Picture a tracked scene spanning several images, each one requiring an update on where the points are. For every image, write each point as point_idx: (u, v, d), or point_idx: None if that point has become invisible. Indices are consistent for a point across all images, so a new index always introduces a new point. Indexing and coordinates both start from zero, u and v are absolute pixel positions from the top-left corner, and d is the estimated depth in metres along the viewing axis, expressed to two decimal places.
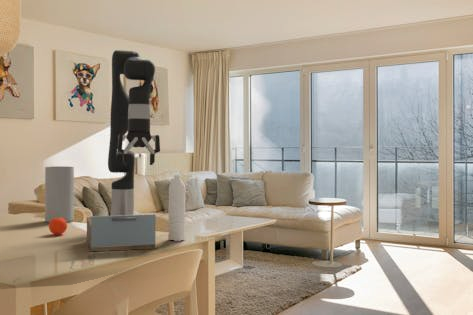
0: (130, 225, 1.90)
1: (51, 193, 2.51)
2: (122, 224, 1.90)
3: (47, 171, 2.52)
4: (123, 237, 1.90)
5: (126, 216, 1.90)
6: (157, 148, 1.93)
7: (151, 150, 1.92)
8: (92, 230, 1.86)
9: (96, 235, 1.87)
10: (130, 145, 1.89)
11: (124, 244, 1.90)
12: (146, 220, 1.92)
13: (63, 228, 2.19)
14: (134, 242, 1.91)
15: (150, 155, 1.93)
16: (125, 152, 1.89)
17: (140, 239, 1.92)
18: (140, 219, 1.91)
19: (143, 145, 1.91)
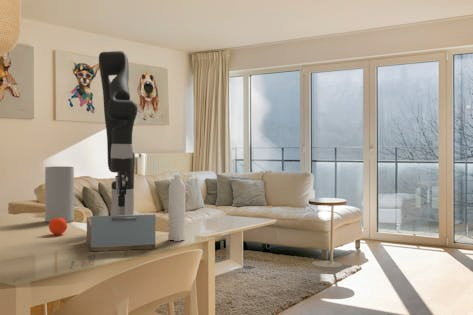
0: (130, 225, 1.90)
1: (51, 193, 2.51)
2: (122, 224, 1.90)
3: (47, 171, 2.52)
4: (123, 237, 1.90)
5: (126, 216, 1.90)
6: None
7: (124, 191, 1.96)
8: (92, 230, 1.86)
9: (96, 235, 1.87)
10: None
11: (124, 244, 1.90)
12: (146, 220, 1.92)
13: (63, 228, 2.19)
14: (134, 242, 1.91)
15: None
16: None
17: (140, 239, 1.92)
18: (140, 219, 1.91)
19: None
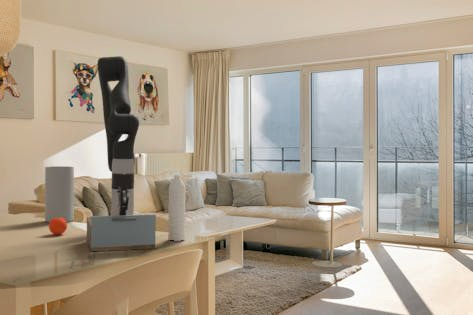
0: (130, 225, 1.90)
1: (51, 193, 2.51)
2: (122, 224, 1.89)
3: (47, 171, 2.52)
4: (123, 237, 1.90)
5: (126, 216, 1.90)
6: None
7: (125, 206, 1.93)
8: (92, 230, 1.86)
9: (96, 235, 1.87)
10: None
11: (124, 244, 1.90)
12: (146, 220, 1.92)
13: (63, 228, 2.19)
14: (134, 242, 1.91)
15: None
16: (126, 209, 1.92)
17: (140, 239, 1.92)
18: (140, 219, 1.91)
19: None
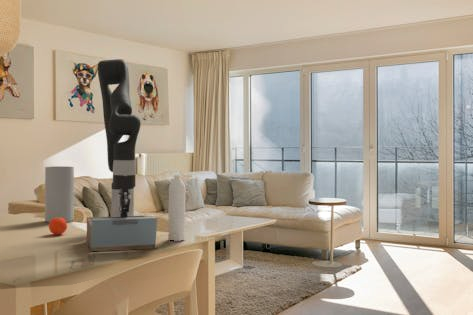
0: (131, 227, 1.88)
1: (51, 193, 2.51)
2: (123, 227, 1.87)
3: (47, 171, 2.52)
4: (123, 238, 1.89)
5: (127, 219, 1.87)
6: None
7: None
8: (92, 232, 1.85)
9: (96, 237, 1.86)
10: None
11: (124, 244, 1.90)
12: (147, 223, 1.89)
13: (63, 228, 2.19)
14: (135, 242, 1.91)
15: None
16: (127, 211, 1.89)
17: (140, 240, 1.91)
18: (141, 222, 1.89)
19: None
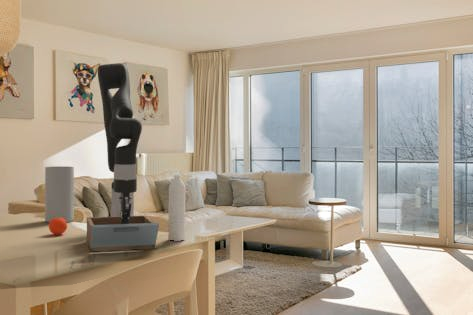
0: (132, 232, 1.86)
1: (51, 193, 2.51)
2: (124, 232, 1.85)
3: (47, 171, 2.52)
4: (123, 240, 1.88)
5: (129, 226, 1.84)
6: None
7: None
8: (93, 236, 1.83)
9: (96, 240, 1.84)
10: None
11: (124, 245, 1.90)
12: (149, 229, 1.87)
13: (63, 228, 2.19)
14: (135, 243, 1.90)
15: None
16: (129, 216, 1.86)
17: (141, 241, 1.90)
18: (143, 228, 1.86)
19: None
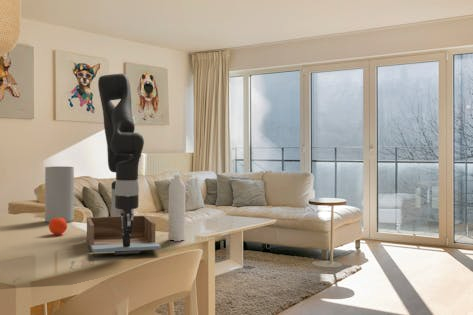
0: None
1: (51, 193, 2.51)
2: None
3: (47, 171, 2.52)
4: None
5: (130, 250, 1.80)
6: None
7: (129, 229, 1.83)
8: None
9: None
10: None
11: None
12: None
13: (63, 228, 2.19)
14: None
15: None
16: (130, 233, 1.82)
17: None
18: None
19: None
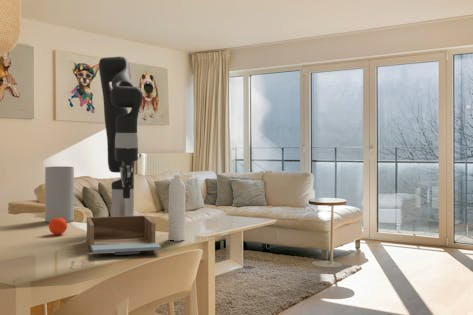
0: None
1: (51, 193, 2.51)
2: None
3: (47, 171, 2.52)
4: None
5: (130, 250, 1.80)
6: None
7: (129, 182, 1.88)
8: None
9: None
10: None
11: None
12: None
13: (63, 228, 2.19)
14: None
15: None
16: (130, 185, 1.86)
17: None
18: None
19: None
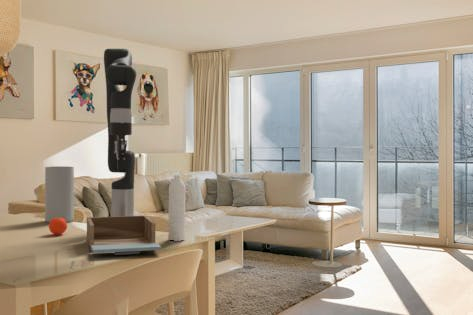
0: None
1: (51, 193, 2.51)
2: None
3: (47, 171, 2.52)
4: None
5: (130, 250, 1.80)
6: (123, 154, 2.01)
7: None
8: None
9: None
10: None
11: None
12: None
13: (63, 228, 2.19)
14: None
15: None
16: (124, 158, 1.98)
17: None
18: None
19: None
